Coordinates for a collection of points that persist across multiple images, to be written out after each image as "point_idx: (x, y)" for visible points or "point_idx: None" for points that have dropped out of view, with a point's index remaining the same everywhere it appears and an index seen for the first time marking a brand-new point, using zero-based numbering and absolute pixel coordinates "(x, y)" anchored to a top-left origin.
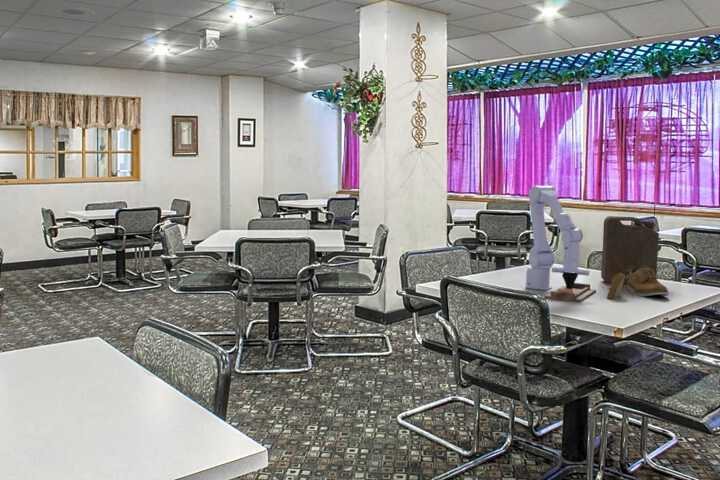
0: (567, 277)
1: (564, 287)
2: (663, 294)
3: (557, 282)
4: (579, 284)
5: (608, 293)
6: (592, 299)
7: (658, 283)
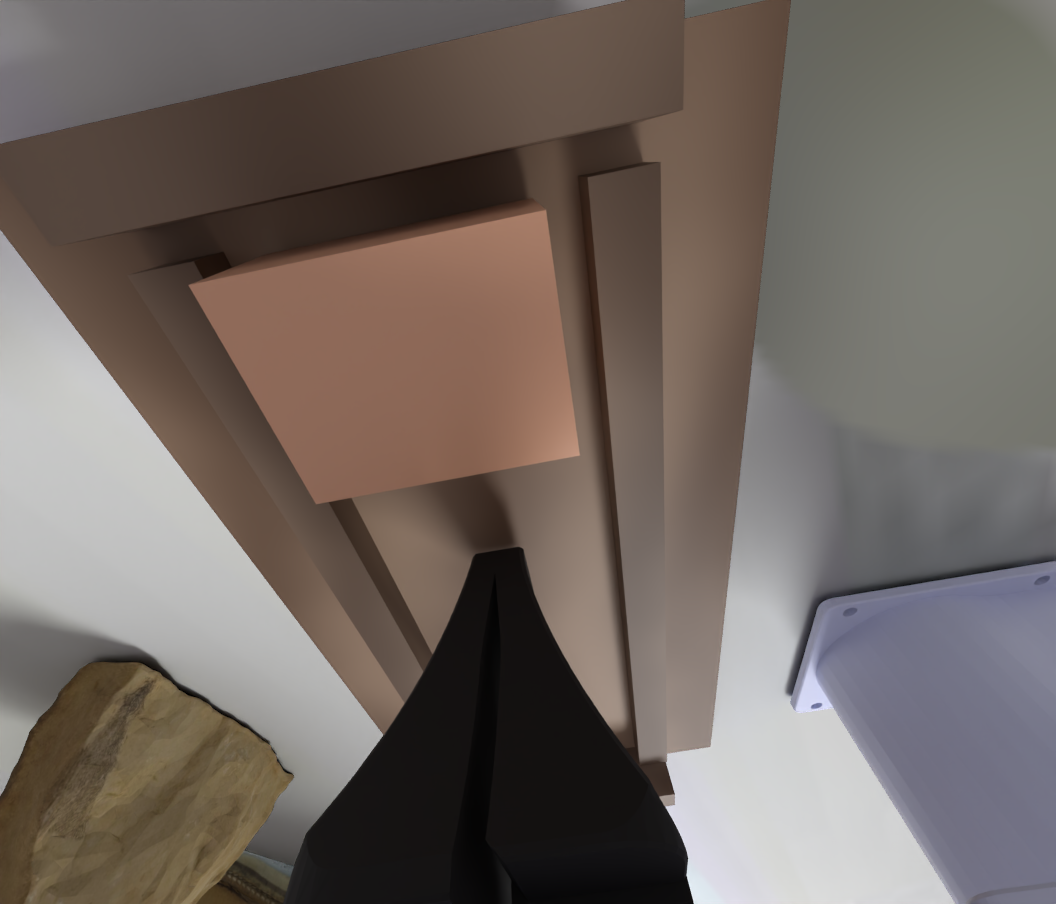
0: (502, 791)
1: (646, 684)
2: None
3: (783, 809)
4: None
5: (96, 720)
6: (177, 537)
7: None
